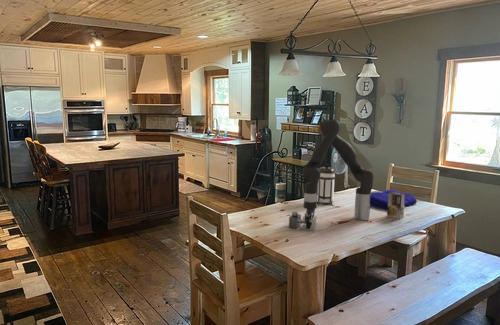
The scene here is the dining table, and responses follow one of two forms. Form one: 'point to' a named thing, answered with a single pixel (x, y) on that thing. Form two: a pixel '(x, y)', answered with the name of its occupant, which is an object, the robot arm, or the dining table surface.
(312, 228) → the lock block
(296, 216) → the stubby hammer
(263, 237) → the dining table surface
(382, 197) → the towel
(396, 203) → the coffee box
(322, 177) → the coffee press
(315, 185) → the robot arm
